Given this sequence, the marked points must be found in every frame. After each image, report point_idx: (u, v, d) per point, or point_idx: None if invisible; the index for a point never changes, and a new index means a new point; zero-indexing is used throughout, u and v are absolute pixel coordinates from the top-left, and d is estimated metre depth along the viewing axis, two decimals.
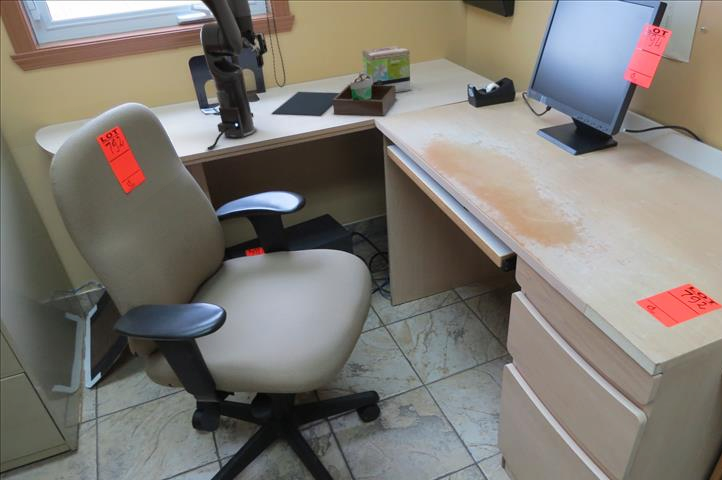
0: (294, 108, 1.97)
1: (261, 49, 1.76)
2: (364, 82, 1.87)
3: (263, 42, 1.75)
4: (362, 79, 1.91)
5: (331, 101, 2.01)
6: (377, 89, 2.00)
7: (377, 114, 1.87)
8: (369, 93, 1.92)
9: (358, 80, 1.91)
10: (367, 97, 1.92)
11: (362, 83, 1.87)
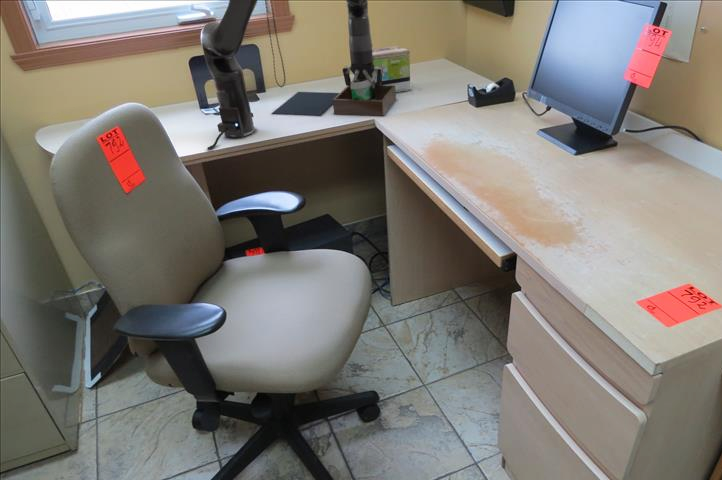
0: (294, 108, 1.97)
1: (377, 82, 1.89)
2: (364, 82, 1.87)
3: (381, 76, 1.88)
4: (362, 79, 1.91)
5: (331, 101, 2.01)
6: (377, 89, 2.00)
7: (377, 114, 1.87)
8: (369, 93, 1.92)
9: (357, 80, 1.91)
10: (367, 97, 1.92)
11: (362, 83, 1.87)
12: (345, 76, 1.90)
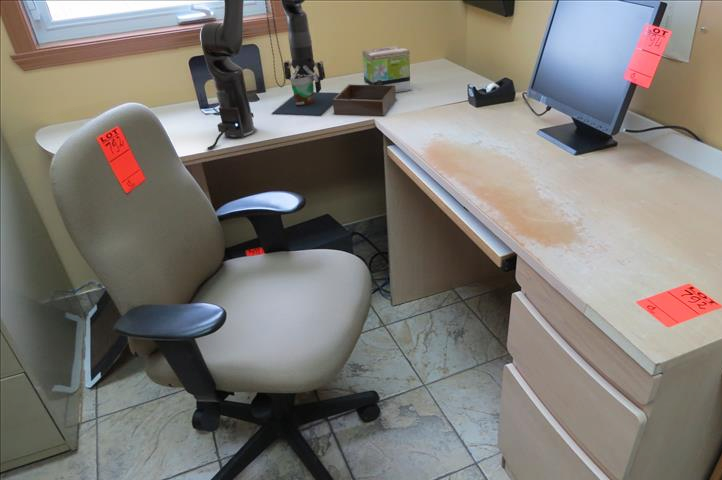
0: (294, 108, 1.97)
1: (320, 76, 1.93)
2: (304, 78, 1.93)
3: (322, 69, 1.93)
4: (304, 76, 1.97)
5: (331, 101, 2.01)
6: (377, 89, 2.00)
7: (377, 114, 1.87)
8: (311, 89, 1.97)
9: (299, 76, 1.96)
10: (309, 93, 1.97)
11: (302, 79, 1.93)
12: (285, 70, 1.95)
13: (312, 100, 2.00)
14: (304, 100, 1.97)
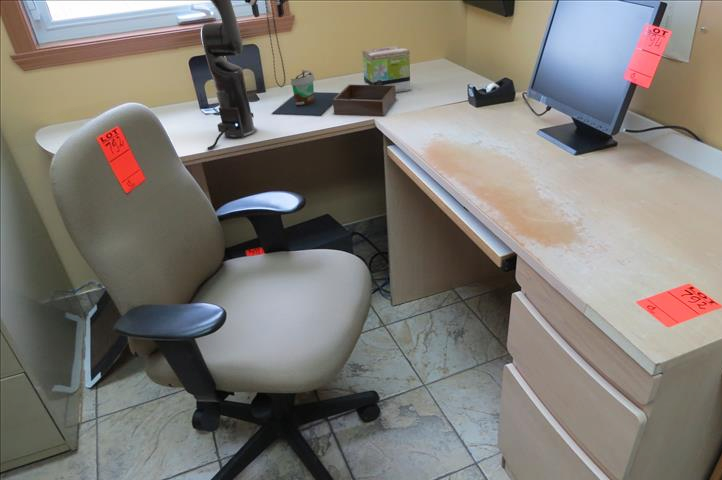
0: (294, 108, 1.97)
1: None
2: (304, 78, 1.93)
3: None
4: (304, 76, 1.97)
5: (331, 101, 2.01)
6: (377, 89, 2.00)
7: (377, 114, 1.87)
8: (311, 89, 1.97)
9: (299, 76, 1.96)
10: (309, 93, 1.97)
11: (302, 79, 1.93)
12: None
13: (312, 100, 2.00)
14: (304, 100, 1.97)
